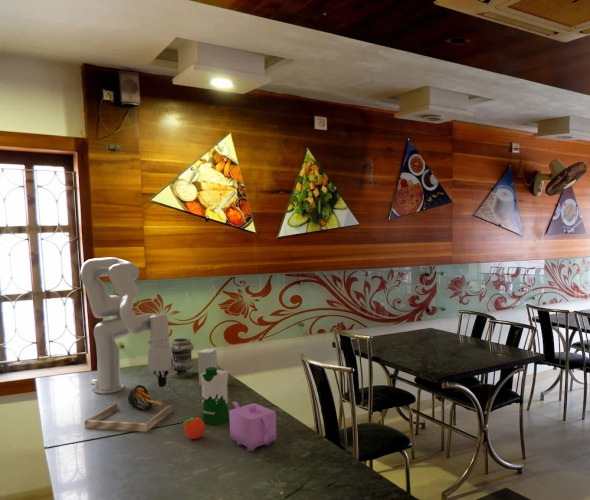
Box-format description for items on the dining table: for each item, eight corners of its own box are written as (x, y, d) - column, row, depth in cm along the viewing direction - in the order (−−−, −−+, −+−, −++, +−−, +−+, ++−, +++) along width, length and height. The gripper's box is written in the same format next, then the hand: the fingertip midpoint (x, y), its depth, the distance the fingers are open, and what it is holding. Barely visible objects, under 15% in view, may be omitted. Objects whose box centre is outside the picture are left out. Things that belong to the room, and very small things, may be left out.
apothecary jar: (181, 380, 229) (180, 343, 228) (164, 377, 235) (163, 340, 235) (199, 374, 239) (198, 338, 238) (182, 371, 245) (181, 336, 245)
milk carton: (198, 423, 174) (197, 369, 174) (213, 414, 183) (211, 363, 182) (219, 426, 171) (217, 371, 170) (232, 418, 179) (231, 365, 178)
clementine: (184, 444, 156) (183, 423, 156) (179, 437, 163) (178, 416, 162) (208, 439, 160) (207, 418, 160) (202, 432, 166) (201, 412, 166)
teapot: (281, 446, 153) (280, 408, 153) (255, 456, 147) (254, 416, 146) (245, 429, 168) (244, 393, 168) (221, 437, 162) (220, 400, 161)
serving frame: (84, 428, 173) (84, 421, 173) (114, 408, 192) (114, 402, 192) (146, 431, 168) (146, 424, 168) (171, 411, 187) (171, 405, 187)
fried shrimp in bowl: (137, 389, 202) (171, 378, 196) (138, 416, 197) (173, 406, 191) (121, 387, 194) (156, 376, 188) (121, 415, 189) (158, 404, 183)
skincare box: (211, 386, 218) (210, 352, 218) (197, 386, 219) (196, 352, 219) (218, 381, 226) (217, 348, 226) (204, 380, 228) (204, 348, 227)
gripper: (139, 345, 202) (142, 388, 202) (172, 345, 199) (174, 388, 199) (148, 341, 209) (150, 383, 209) (180, 341, 206) (182, 383, 206)
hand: (162, 386), depth 204 cm, fingers closed
